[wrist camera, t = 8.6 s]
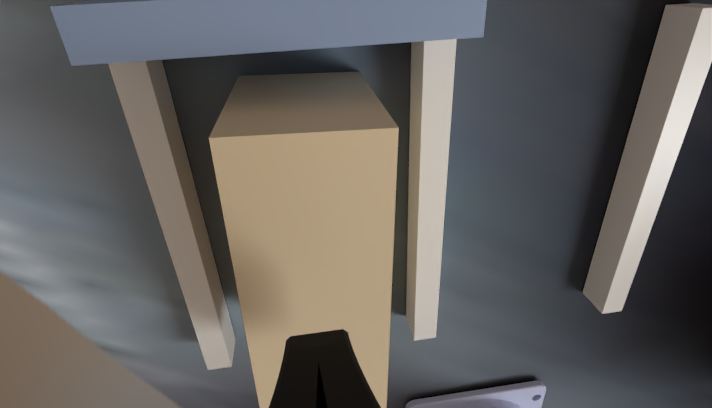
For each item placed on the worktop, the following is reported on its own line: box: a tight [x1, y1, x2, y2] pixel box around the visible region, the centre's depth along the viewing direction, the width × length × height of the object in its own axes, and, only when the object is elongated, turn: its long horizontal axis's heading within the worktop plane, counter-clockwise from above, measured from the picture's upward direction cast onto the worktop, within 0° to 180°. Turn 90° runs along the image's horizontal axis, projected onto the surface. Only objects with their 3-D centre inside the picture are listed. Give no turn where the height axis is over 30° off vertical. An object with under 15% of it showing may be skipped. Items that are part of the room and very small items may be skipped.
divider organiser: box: [50, 0, 712, 370], centre depth 15 cm, size 14×19×4 cm
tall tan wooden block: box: [209, 71, 399, 408], centre depth 14 cm, size 10×4×6 cm, turn 0°
